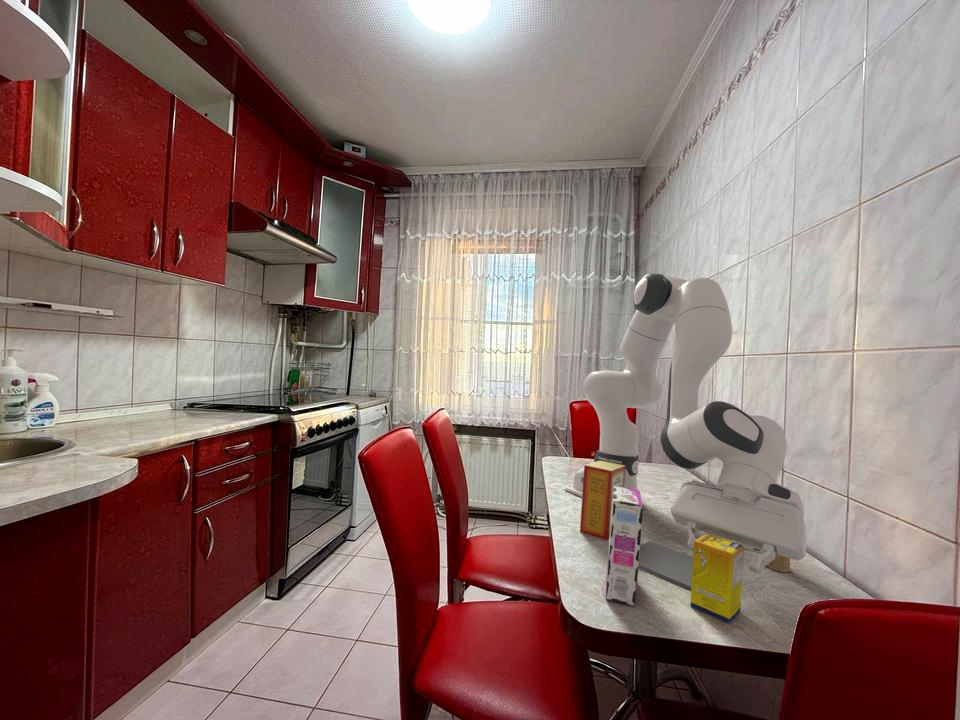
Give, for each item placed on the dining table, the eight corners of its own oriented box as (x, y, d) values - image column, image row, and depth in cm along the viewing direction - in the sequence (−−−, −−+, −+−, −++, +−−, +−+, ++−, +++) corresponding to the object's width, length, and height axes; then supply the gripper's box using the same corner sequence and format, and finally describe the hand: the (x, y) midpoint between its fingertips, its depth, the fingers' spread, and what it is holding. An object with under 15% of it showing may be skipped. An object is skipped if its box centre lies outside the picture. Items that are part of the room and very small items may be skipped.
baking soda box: (595, 522, 106) (600, 458, 107) (621, 529, 102) (625, 464, 103) (579, 531, 99) (584, 463, 99) (606, 540, 95) (611, 469, 95)
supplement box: (702, 595, 73) (705, 532, 73) (741, 611, 69) (745, 544, 69) (688, 606, 69) (693, 539, 69) (729, 624, 65) (733, 553, 65)
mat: (616, 558, 86) (616, 555, 86) (649, 543, 95) (649, 540, 95) (693, 591, 74) (693, 587, 74) (721, 570, 84) (722, 567, 84)
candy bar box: (637, 608, 67) (644, 505, 68) (605, 600, 69) (611, 500, 69) (634, 577, 78) (640, 488, 78) (606, 571, 80) (612, 484, 80)
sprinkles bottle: (763, 560, 90) (766, 497, 90) (789, 567, 88) (793, 502, 88) (764, 568, 86) (768, 502, 86) (792, 575, 84) (795, 508, 84)
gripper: (680, 468, 83) (655, 528, 76) (811, 496, 67) (793, 574, 61) (688, 488, 86) (664, 547, 79) (815, 519, 70) (799, 596, 64)
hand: (721, 559), depth 70 cm, fingers open, 8 cm apart
